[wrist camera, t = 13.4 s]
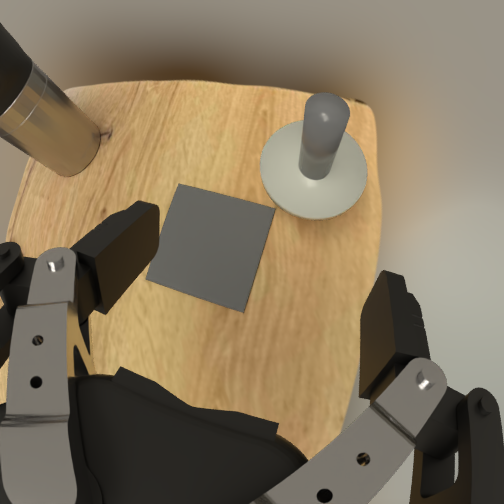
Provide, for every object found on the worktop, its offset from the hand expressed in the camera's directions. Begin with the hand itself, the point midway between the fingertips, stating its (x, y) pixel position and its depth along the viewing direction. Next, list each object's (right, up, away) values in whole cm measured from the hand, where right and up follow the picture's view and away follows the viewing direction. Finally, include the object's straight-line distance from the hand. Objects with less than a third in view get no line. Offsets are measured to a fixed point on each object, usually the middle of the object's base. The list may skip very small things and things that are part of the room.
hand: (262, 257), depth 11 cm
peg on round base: (+5, +8, +18) cm, 20 cm away
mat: (-5, +1, +25) cm, 25 cm away
